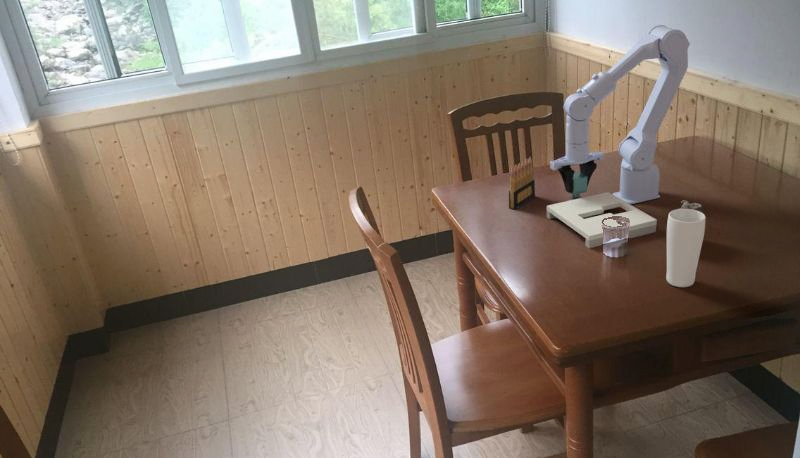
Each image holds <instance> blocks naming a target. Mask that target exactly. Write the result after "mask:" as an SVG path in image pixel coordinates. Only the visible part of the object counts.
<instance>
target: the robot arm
mask: <svg viewBox="0 0 800 458" xmlns="http://www.w3.org/2000/svg"><path fill="white" fill-rule="evenodd" d="M690 44H691V43H690V41H689V39H688V38H687V36H686V34H685V33H684V31H682V30H680V29H674V28H672V27H668V26H666V25H662V24H658V25H656V26H655V25H654V26H653V27H651V28H650V29H649V31H648V32H646V33H645V34H643V35H642V36H641V37H640V38H639V40H638V41H637V42H636V43H635V44H634V45H633V46H632V47H631V48H630V49H629V50H628V51H627V52H626V53H625V54H624V55H622V57H621V58H620V59H619V60H618V61H617V62H616V63H615V64H613V66H611V68H610V69H609V70H607V71H599V72H598V73H594V74H593V75H591V76H590V77H591V79H590V81H588V82H587V83H586V84H585V85H584V86H582V87H581V88H578V89H577V90H576V93H572V94H570V95H569V96H567V98H565V101H564V104H563V105H562V108H563V111H564V112H565V113H566V122H565V155H564V156H562V157H559V158H558V159H557V158H556V160H555V159H554V160H552V161H551V160H550V161H549V166H550V167H549V168H550V169H551V170H552V171H558V173H559V175H560V176H561V179H562V180H563V181H562V182H563V184H564V189H565V192H567V193H568V194H571V193H572V182H573V176H574V173H576V170H574V169H572V166H577V165H579V172H580V173H582V174H584V175H586V176H587V188H588V186H589V184H590V183H589V182H590V181H591V177H592V176H593V174H594V172H595V170H597V167H598V165H597V163H596V162H597V161H599V162H601V161H604V152H601V151H591V152H589V149H590V148H589V147H590V146H589V145H590V142H589V140H590V139H589V138H590V117H592V115H593V112H594V109H595V107H596V106H598V105H599V104H600V103H601V102H602V101H603V100H605V99H606V98H607V97H608V96H609V95H610V94H612V92H615V90H616V87H617V83H618V81H620V80H621V79H622V78H623V77H624V76H626V74H628V73H630V72H632V71H633V70H634V69H635V67H637V66H638V65H640V64H641V63H642V62H643V61H646V60H655V59H658V61H659V63H660V66H661V68H662V69H661V71H660V73H659V75H658V78H657V80H656V82H655V84H654V87H653V89H652V91H651V93H650V95H649V98H648V99H647V102H646V104H645V106H644V109H643V110H642V113H641V115H640V117H639V119H638V121H637V124H636V126H635V127H634V128H632V129H631V130H630V131H629V132H628V134H627V136H625V138H624V139H623V140H622V141H621V142H620V143H619V145H618V154H619V156H620V157H621V158H622V161H621V163H620V176H619V178H620V179H619V191H617V192H616V191H615V192H613V193H612V195H614V196H616V197H617V198H619V199H621V200H623V201H624V202H626V203H628V204H630V205H633V204H639V203H642V202H646V201H651V200H655V199H660V198H661V195H659V191H660V190H659V189H660V178H661V177H660V176H661V175H660V170H659V167H658V166H657V164H655V163H654V162H655V157H656V149H657V148H658V139H657V134H658V132H659V130H660V127H662V124H663V121H664V119H665V118H666V115H667V113H668V110H669V109H670V106H671V105H672V103H673V100H674V98H675V96H676V93H678V92H677V91H678V89H679V87H680V85H681V83H682V81H683V80H684V77H685V75H686V72H687V71H688V68H689V56H688V55H689V54H688V52H689V51H688V50H689V47H690Z"/></svg>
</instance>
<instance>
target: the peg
mask: <svg viewBox="0 0 800 458" xmlns="http://www.w3.org/2000/svg"><path fill="white" fill-rule="evenodd" d="M584 193H588V187H587V176H586V175H584V174H582V173H580V171H578V172H575V173H574V176H573V182H572V193H570V194H571V195H572V196H569V197H567V201H570V200H575V199H579V198H584V197H582V196H581V194H584Z"/></svg>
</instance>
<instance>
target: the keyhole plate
mask: <svg viewBox="0 0 800 458" xmlns="http://www.w3.org/2000/svg"><path fill="white" fill-rule="evenodd" d="M616 208H622V209H623V210H625V212H620V213H619V212H618V213H614V214H613V213H611V212H608V213H604V211H607V210H612V209H616ZM596 215H597V216H596ZM612 216H622V217H626V218H629V219H630V228H629V239H632V238H637V237H641V236H645V235H649V234H653V233H656V232H657V223H658V222H657V221H658V220H657V219H656V218H655V217H653V216H651V215H649V214H647V213H645V212H644V211H642V210H640V209H639V208H637V207H635V206H633V205H632V204H628V203H626V202H624V201H623V200H621V199H619V198H617V197H616V196H614V195H613V193H610V192H608V191H607V192H606V191H605V192H602V193H598V194H594V195H589V196H584V197H583V198H579V199H575V200H570V201H568V200H567V201H562V202H558V203H553V204H549V205H546V218H548V220H551V219H552V220H553V219H558V220H560V221H561V222H563V223H564V224H565V225H567V226H568V227H570V228H571V229H572V230H574V231H575V232H577V233H578V234H579V235H580V236H582V237H583V238H585V242H584V243H585V247H587V248H588V249H592V248H596V247H600V246H603V245H602V244H603V229H602V226H601V222H602V220H603V219H604V218H608V217H612ZM603 223H604V224H605V225H607V226H611V227H617V226H622V225H620V224H618V223H617V222H616V220H613V219H607V220H604V222H603Z"/></svg>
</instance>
